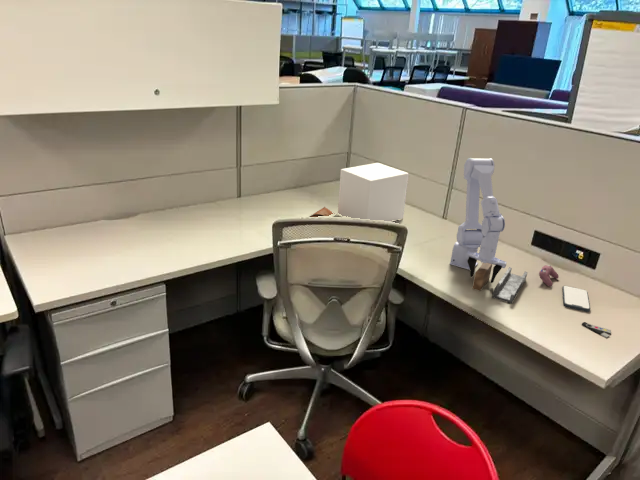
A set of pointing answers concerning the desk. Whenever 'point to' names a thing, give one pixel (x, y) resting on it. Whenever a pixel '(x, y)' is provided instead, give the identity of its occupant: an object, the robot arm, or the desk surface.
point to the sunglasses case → (322, 212)
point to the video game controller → (548, 274)
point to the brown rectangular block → (482, 276)
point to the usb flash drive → (597, 329)
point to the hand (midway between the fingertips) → (481, 279)
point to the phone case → (576, 298)
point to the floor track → (509, 286)
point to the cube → (372, 192)
